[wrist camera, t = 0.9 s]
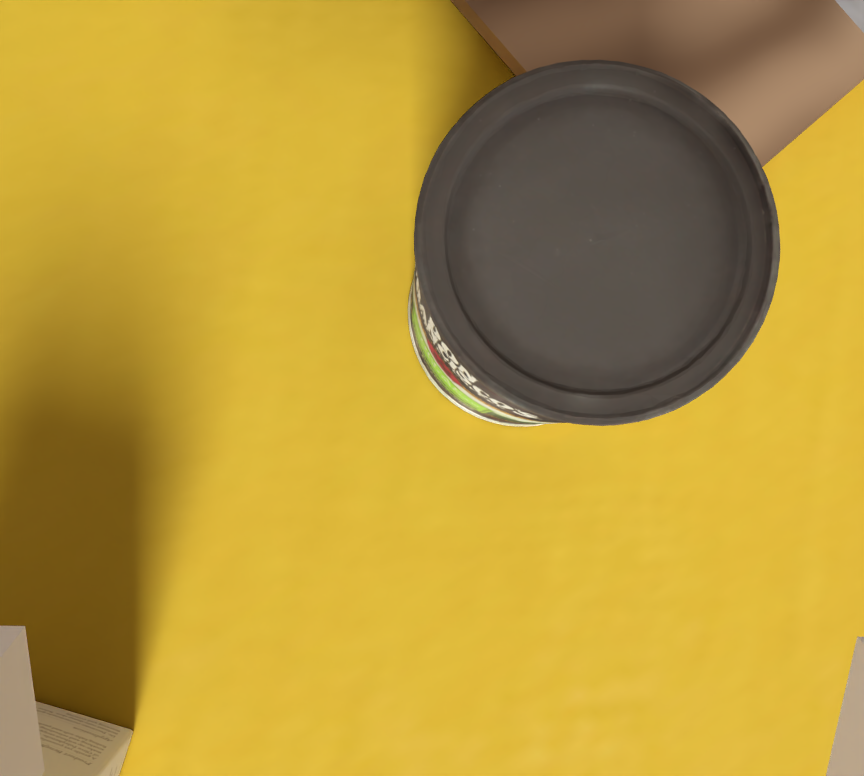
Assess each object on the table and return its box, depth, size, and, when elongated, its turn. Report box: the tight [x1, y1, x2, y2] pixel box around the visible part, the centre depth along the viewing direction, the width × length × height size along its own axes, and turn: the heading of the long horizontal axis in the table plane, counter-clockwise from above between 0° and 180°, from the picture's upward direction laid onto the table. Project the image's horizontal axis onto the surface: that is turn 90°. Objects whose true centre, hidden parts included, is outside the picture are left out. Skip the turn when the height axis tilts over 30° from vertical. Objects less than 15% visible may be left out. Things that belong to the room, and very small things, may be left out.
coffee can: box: [408, 60, 780, 427], centre depth 29 cm, size 10×10×14 cm
